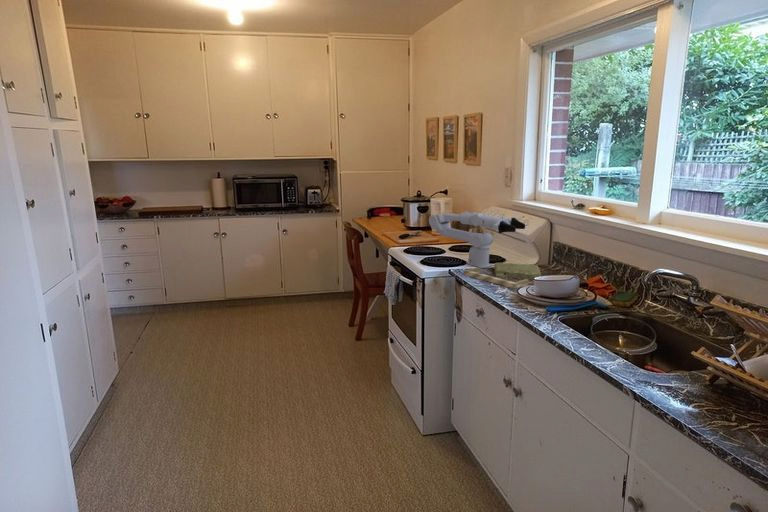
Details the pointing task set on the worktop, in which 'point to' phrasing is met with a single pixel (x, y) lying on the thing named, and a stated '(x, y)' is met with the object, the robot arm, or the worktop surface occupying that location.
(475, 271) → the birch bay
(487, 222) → the robot arm
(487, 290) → the worktop surface
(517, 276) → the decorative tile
